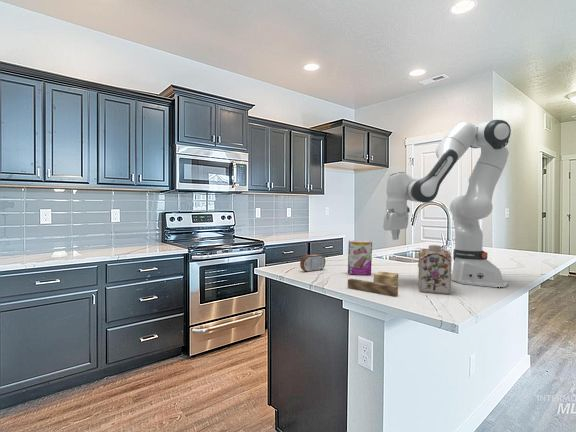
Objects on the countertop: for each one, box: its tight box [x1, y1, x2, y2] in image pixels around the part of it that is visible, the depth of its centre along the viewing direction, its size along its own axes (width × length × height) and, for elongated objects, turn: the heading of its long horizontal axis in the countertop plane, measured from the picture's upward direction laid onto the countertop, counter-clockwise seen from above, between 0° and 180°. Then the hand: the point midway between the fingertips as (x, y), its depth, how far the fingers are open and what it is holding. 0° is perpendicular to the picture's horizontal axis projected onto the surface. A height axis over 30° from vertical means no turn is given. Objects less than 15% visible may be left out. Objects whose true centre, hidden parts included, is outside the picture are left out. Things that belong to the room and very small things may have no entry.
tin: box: [299, 253, 326, 273], centre depth 174 cm, size 15×3×8 cm, turn 124°
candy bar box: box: [347, 240, 373, 276], centre depth 166 cm, size 11×5×16 cm, turn 84°
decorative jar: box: [417, 244, 453, 295], centre depth 137 cm, size 12×12×18 cm
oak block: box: [373, 271, 399, 286], centre depth 144 cm, size 8×8×5 cm
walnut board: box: [347, 278, 399, 298], centre depth 133 cm, size 20×2×4 cm, turn 51°
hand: (395, 239), depth 152 cm, fingers closed
